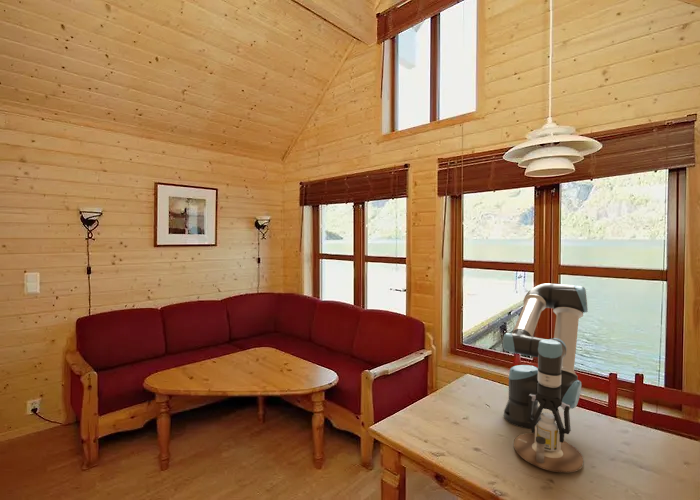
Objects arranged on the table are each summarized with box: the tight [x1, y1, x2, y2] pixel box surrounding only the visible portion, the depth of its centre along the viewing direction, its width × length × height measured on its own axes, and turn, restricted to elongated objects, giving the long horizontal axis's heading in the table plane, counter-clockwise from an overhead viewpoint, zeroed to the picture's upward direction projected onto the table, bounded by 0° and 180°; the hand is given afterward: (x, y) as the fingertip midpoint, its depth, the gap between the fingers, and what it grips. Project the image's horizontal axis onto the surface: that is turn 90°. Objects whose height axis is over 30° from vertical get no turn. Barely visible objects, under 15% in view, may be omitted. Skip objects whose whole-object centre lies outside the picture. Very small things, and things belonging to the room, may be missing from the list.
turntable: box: [513, 432, 584, 474], centre depth 131 cm, size 22×22×9 cm
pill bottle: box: [538, 412, 559, 451], centre depth 131 cm, size 6×6×12 cm
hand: (547, 445), depth 131 cm, fingers closed on pill bottle, 6 cm apart
